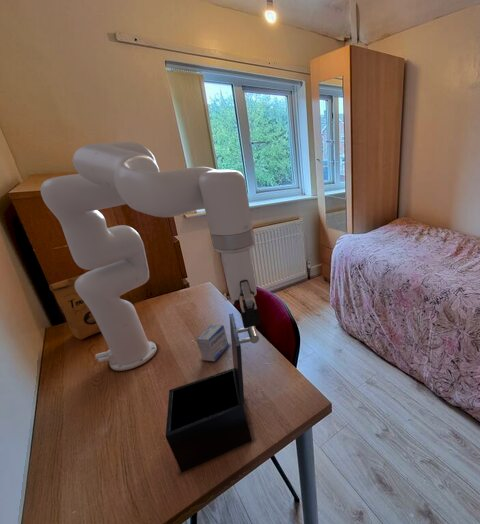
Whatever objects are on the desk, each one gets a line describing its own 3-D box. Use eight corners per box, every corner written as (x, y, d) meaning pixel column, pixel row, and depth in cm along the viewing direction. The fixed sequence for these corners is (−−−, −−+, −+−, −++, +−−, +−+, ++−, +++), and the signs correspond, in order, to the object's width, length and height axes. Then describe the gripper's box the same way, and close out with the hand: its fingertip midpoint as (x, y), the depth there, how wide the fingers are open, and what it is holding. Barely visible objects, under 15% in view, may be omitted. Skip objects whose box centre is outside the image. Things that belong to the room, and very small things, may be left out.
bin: (181, 472, 61) (165, 436, 56) (182, 424, 71) (169, 390, 66) (252, 441, 67) (242, 405, 62) (243, 400, 77) (235, 367, 72)
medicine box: (214, 362, 90) (208, 340, 86) (202, 360, 91) (195, 338, 87) (229, 345, 97) (223, 324, 93) (217, 343, 98) (211, 323, 94)
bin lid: (236, 346, 56) (262, 340, 58) (229, 313, 66) (251, 310, 68) (240, 405, 61) (264, 397, 64) (233, 366, 72) (254, 361, 74)
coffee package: (120, 326, 108) (98, 274, 99) (78, 344, 99) (49, 289, 90) (112, 317, 114) (90, 267, 105) (72, 333, 105) (44, 280, 96)
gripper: (209, 229, 60) (225, 298, 67) (215, 258, 46) (235, 342, 53) (246, 223, 63) (258, 290, 70) (263, 250, 49) (275, 330, 56)
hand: (248, 313), depth 61 cm, fingers open, 9 cm apart
